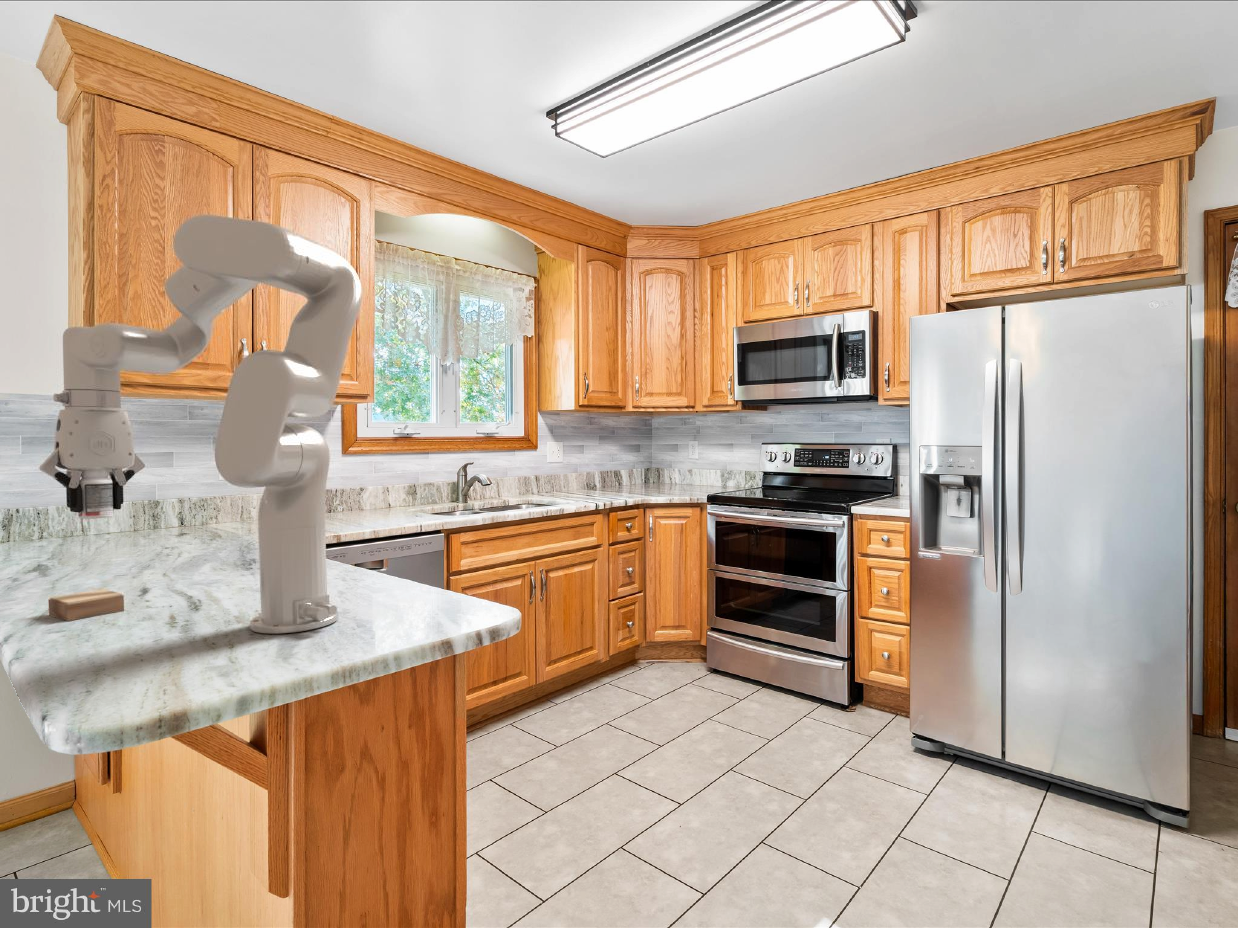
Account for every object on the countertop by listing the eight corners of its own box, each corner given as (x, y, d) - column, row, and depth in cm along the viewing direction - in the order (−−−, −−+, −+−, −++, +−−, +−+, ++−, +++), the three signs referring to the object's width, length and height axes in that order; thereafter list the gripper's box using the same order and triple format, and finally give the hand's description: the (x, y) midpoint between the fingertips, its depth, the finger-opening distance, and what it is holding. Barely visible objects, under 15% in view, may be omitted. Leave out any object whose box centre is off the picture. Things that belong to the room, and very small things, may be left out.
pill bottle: (120, 516, 116) (119, 467, 116) (97, 519, 112) (95, 468, 111) (95, 515, 117) (94, 467, 117) (70, 518, 112) (69, 468, 112)
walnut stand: (124, 610, 118) (123, 593, 118) (67, 621, 111) (67, 603, 111) (104, 605, 122) (103, 588, 122) (49, 615, 115) (48, 597, 115)
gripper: (38, 399, 104) (41, 516, 105) (159, 404, 119) (162, 507, 119) (20, 400, 108) (23, 513, 109) (140, 405, 123) (142, 505, 123)
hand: (95, 509), depth 114 cm, fingers closed on pill bottle, 4 cm apart
